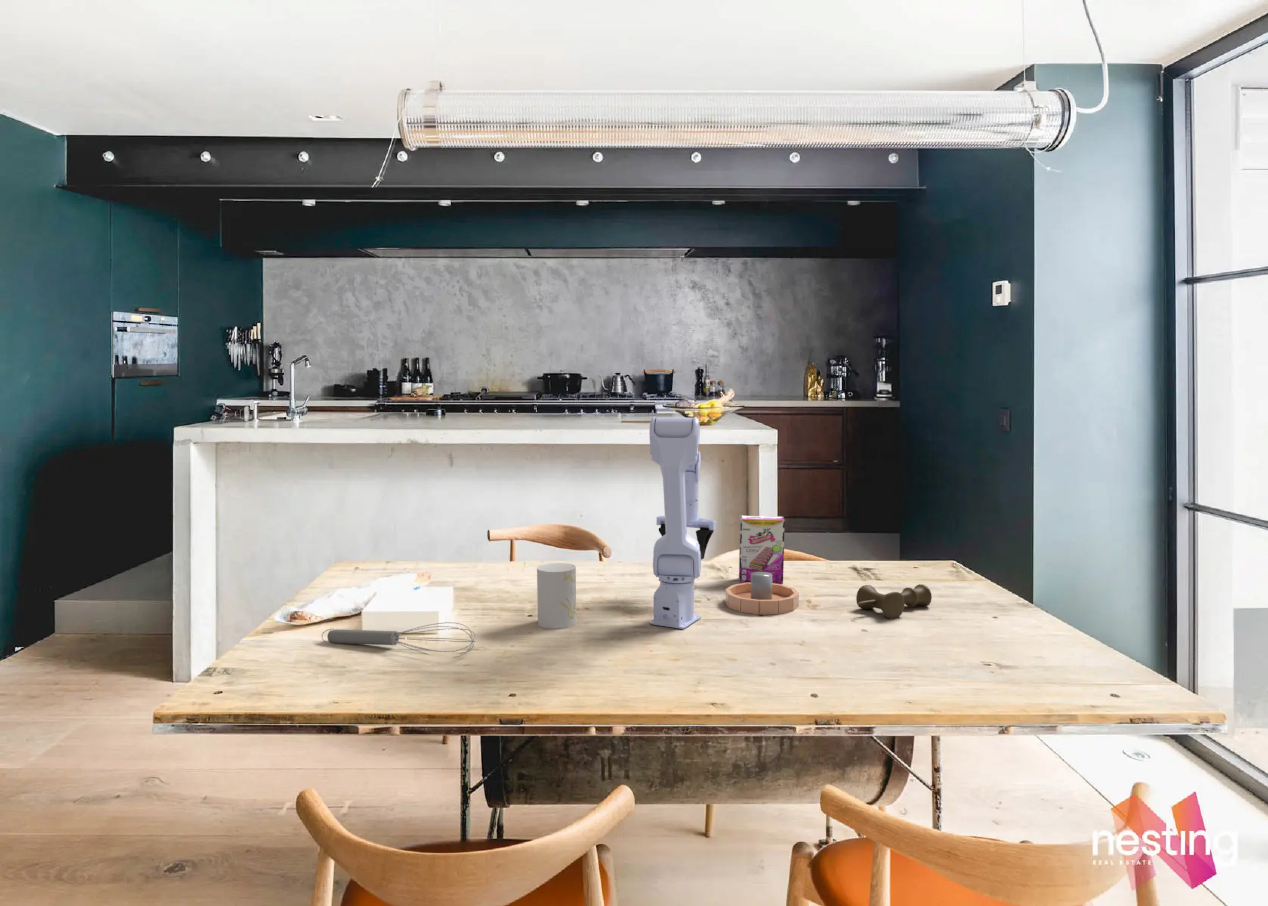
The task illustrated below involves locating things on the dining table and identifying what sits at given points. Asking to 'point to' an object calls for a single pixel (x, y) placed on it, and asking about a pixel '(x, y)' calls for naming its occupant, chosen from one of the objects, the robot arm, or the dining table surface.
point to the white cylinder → (556, 595)
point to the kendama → (893, 599)
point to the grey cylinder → (761, 586)
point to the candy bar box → (761, 547)
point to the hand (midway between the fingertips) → (686, 557)
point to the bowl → (780, 603)
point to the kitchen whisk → (385, 637)
